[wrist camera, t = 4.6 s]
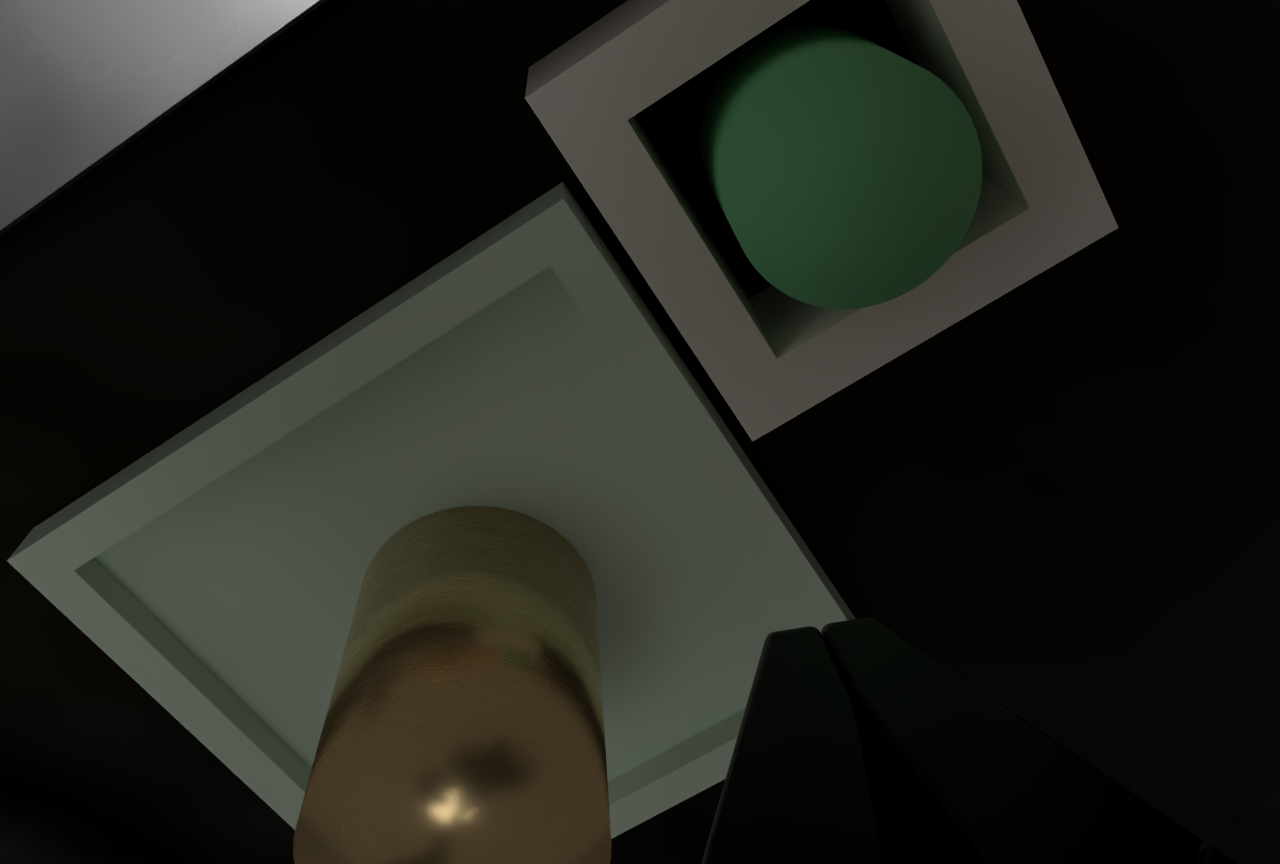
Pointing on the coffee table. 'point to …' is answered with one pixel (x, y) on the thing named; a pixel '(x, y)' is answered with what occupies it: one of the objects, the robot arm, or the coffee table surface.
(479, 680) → the billet
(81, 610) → the pad
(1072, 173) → the button console
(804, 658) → the robot arm
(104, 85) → the pallet plate
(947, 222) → the button
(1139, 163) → the coffee table surface
